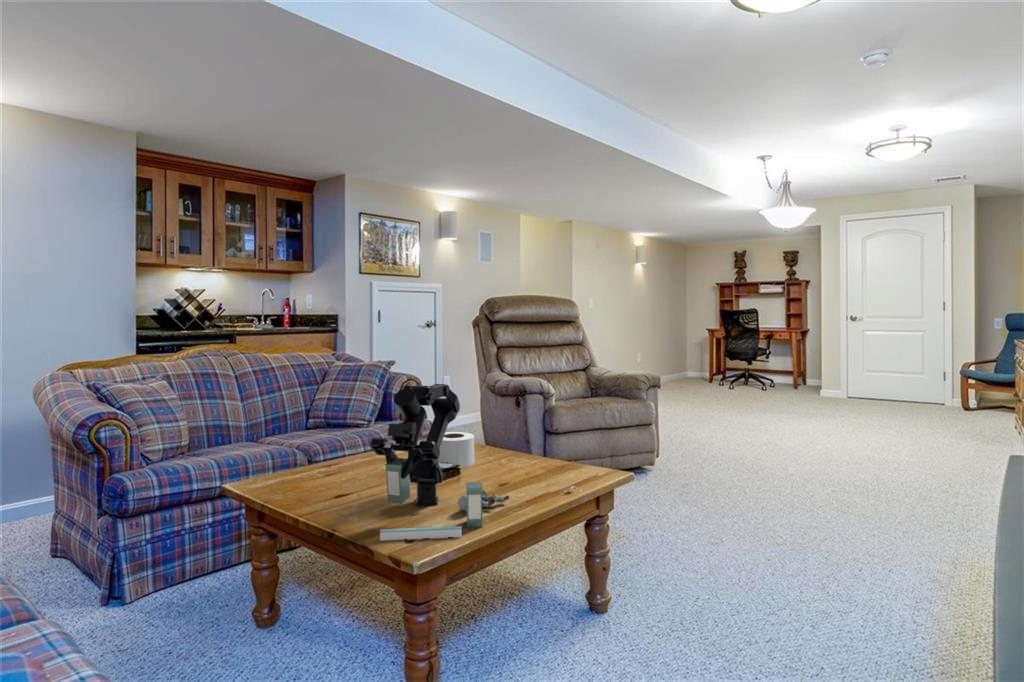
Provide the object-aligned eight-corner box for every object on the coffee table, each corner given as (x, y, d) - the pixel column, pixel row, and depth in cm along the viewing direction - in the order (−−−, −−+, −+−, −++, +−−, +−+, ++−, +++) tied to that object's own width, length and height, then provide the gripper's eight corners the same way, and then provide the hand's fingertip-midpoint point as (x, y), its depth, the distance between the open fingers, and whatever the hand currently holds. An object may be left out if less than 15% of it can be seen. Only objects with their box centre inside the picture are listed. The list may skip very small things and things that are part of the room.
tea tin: (396, 495, 157) (394, 457, 156) (410, 496, 156) (408, 458, 155) (387, 502, 152) (385, 464, 151) (401, 504, 151) (399, 465, 150)
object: (472, 469, 210) (472, 439, 210) (429, 469, 211) (429, 439, 210) (476, 458, 226) (475, 431, 225) (436, 458, 226) (436, 431, 226)
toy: (512, 499, 169) (479, 505, 157) (486, 515, 174) (452, 522, 162) (503, 477, 172) (470, 481, 160) (478, 494, 177) (444, 499, 165)
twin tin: (466, 521, 156) (466, 482, 156) (481, 520, 157) (481, 482, 156) (466, 528, 151) (466, 488, 151) (482, 527, 151) (482, 487, 151)
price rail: (380, 538, 144) (380, 529, 144) (461, 535, 146) (461, 526, 146) (380, 540, 143) (380, 531, 142) (461, 537, 145) (461, 528, 144)
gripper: (370, 408, 157) (351, 461, 148) (433, 411, 152) (417, 466, 143) (386, 428, 166) (368, 479, 157) (446, 432, 161) (432, 485, 152)
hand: (395, 477), depth 152 cm, fingers closed on tea tin, 4 cm apart
